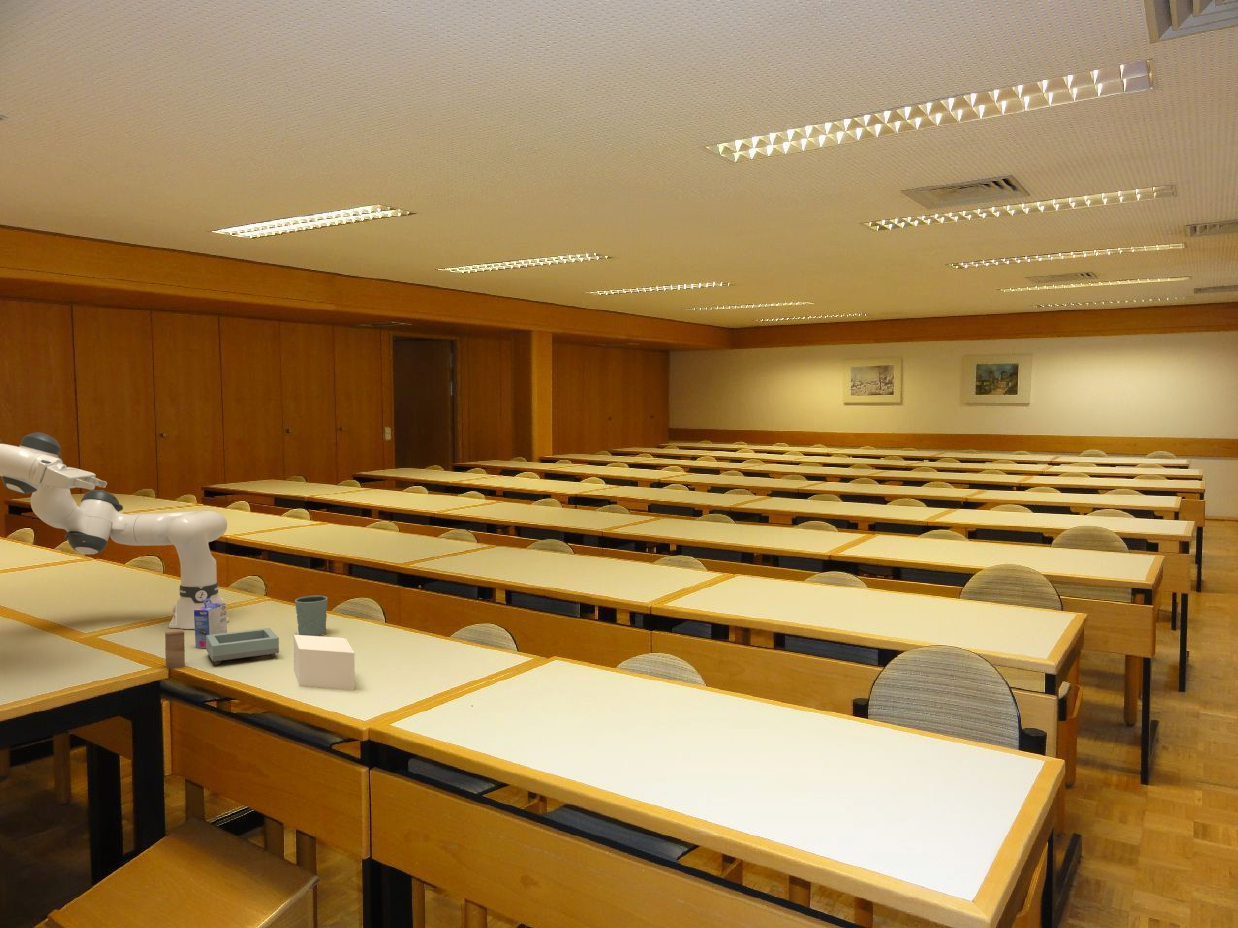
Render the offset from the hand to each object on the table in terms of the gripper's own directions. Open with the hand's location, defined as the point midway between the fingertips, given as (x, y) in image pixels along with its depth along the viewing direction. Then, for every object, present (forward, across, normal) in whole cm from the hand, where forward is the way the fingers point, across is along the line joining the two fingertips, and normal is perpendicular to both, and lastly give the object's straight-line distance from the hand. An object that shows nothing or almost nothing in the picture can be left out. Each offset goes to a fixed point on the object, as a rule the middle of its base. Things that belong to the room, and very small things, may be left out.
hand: (99, 486), depth 245 cm
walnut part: (+37, +9, -42) cm, 57 cm away
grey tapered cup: (+69, -20, -31) cm, 79 cm away
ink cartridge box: (+41, -14, -41) cm, 59 cm away
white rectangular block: (+78, +30, -30) cm, 89 cm away
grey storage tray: (+53, +3, -37) cm, 65 cm away
